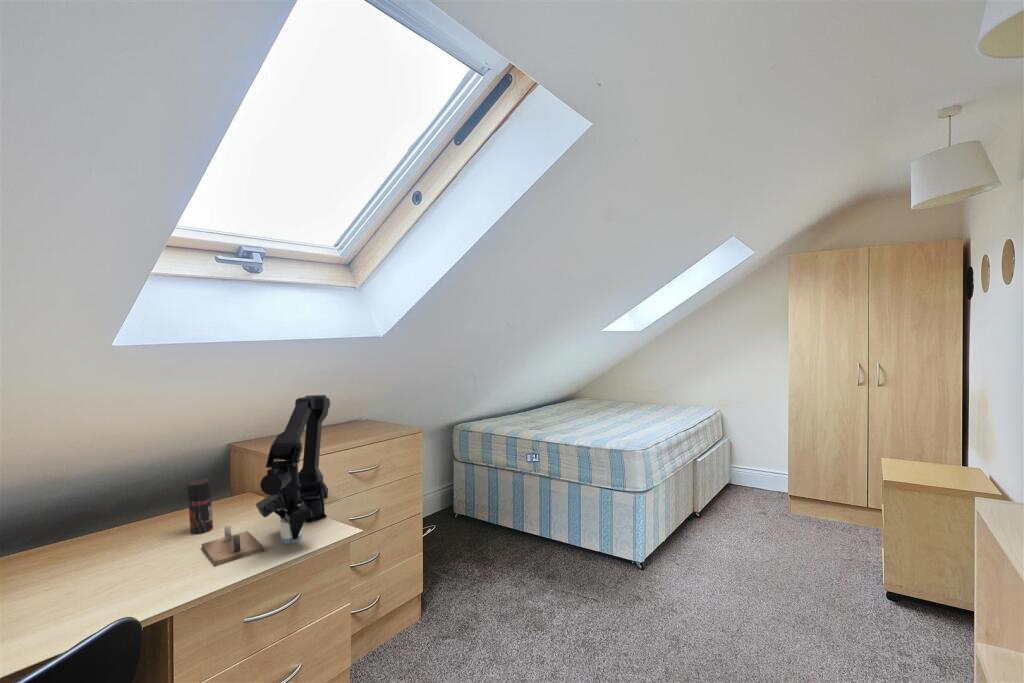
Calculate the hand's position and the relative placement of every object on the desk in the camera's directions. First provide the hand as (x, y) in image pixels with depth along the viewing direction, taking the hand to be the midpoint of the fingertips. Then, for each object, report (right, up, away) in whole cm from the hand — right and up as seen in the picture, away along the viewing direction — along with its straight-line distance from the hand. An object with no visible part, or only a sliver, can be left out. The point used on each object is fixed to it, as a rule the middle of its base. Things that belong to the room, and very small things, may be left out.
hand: (291, 536), depth 150 cm
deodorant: (-31, -2, +9) cm, 33 cm away
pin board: (-14, -2, -5) cm, 15 cm away
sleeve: (0, -1, 0) cm, 1 cm away
